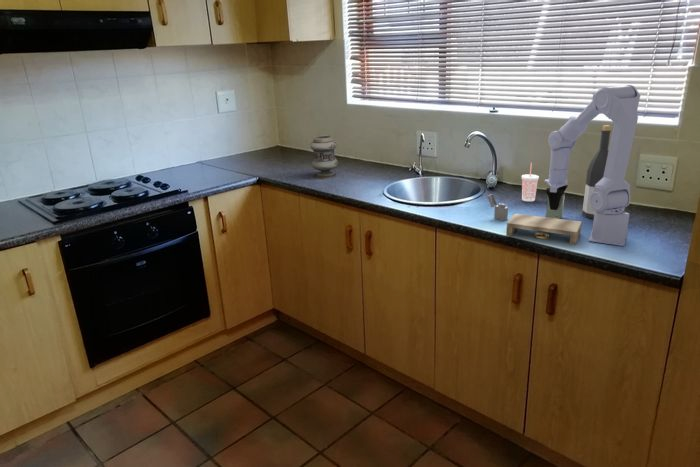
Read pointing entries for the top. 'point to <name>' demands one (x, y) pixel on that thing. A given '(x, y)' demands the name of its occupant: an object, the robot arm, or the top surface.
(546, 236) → the brass token
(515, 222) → the oak shelf
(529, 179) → the beverage cup
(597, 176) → the wine bottle
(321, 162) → the apothecary jar
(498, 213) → the lighter
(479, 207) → the top surface
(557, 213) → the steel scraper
